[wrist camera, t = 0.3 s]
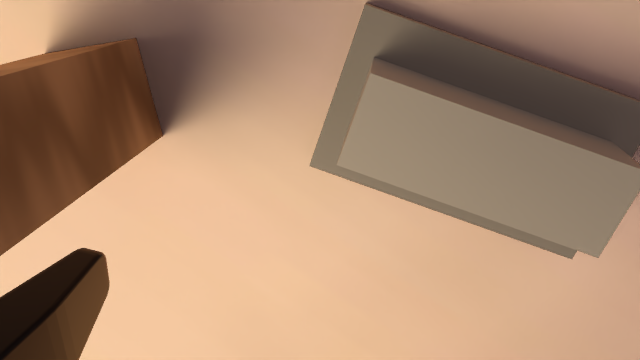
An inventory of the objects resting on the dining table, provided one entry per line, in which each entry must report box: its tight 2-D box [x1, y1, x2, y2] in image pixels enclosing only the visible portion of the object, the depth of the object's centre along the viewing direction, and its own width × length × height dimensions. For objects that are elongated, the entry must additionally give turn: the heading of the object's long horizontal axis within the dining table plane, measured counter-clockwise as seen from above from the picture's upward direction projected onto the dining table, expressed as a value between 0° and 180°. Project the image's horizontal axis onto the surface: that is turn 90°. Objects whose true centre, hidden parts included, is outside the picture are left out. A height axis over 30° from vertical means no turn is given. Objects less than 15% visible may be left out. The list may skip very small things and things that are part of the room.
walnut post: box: [0, 38, 163, 256], centre depth 19 cm, size 4×4×13 cm
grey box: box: [310, 3, 640, 259], centre depth 21 cm, size 12×7×4 cm, turn 72°
